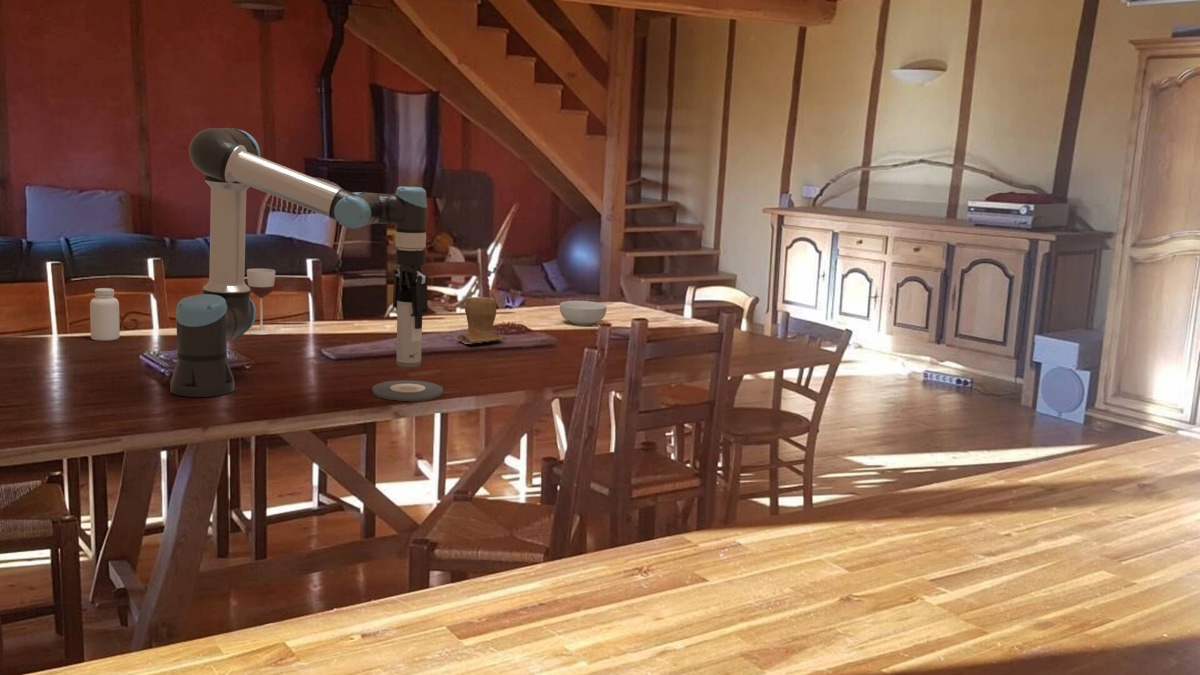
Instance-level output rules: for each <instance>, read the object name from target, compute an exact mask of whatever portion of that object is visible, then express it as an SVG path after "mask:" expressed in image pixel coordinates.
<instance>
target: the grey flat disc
mask: <svg viewBox="0 0 1200 675" xmlns="http://www.w3.org/2000/svg"><path fill="white" fill-rule="evenodd" d="M371 392H372V395H373V396H374V397H376V398H378V399H381V398H383V399H382V400H385V399H388V400H387V401H391V400H397V401H396V402H403V401H408V402H412V403H413V402H415V403H416V402H426V401H427V402H428V401H432V400H435V399H439V398H441V397H442V396H443V395H444V388H443V387H442V386H441V385H439V384H437V383H433V382H430V381H422V380H408V379H406V380H403V379H402V380H389V381H382V382H380V383H376V384H374V385H373V386H372V389H371Z"/></svg>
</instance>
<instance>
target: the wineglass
mask: <svg viewBox="0 0 1200 675" xmlns="http://www.w3.org/2000/svg"><path fill="white" fill-rule="evenodd" d="M246 276H247V279H246V280H247V284H248V285H247V286H248V287H249V288H250V293H252V294H253V295H255V296H256V297H258V298H259V310H260V311H259V325H260V326H259V327H260V328H259V329H256V330H250V331H248V333H249V334H252V335H270V334H273V333H274V331H273V330H270V329H264V327H263V325H264V324H263V323H264V322H263V321H264V317H263V314H264V312H263V310H264V309H263V298H265V297H267V296H268V295H270V294H271V293H272V292H273V290H274V288H275V287H274V286H275V281H276V270H275V269H272V268H248V269H246Z"/></svg>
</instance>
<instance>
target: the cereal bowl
mask: <svg viewBox="0 0 1200 675" xmlns="http://www.w3.org/2000/svg"><path fill="white" fill-rule="evenodd" d="M559 312H560V315H561V317H562V318H563V319H565V320H566V321H569V322H570V323H571V324H573V325H576V326H592V325H593V324H594V323H599V322H601V321H602V320H603V319H604V318H605V316H606V313H607V305H606V304H604V303H602V302H596V301H589V300H588V301H587V300H567V301H561V302H560V303H559Z"/></svg>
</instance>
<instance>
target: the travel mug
mask: <svg viewBox="0 0 1200 675" xmlns="http://www.w3.org/2000/svg"><path fill="white" fill-rule="evenodd" d="M411 299H412V291H410V290H404V292H402V291H398V300H397V302H398V303H397V310H396V362H395V363H396V365H397V366H399V367H401V368H402V367H404V368H415V367H419V366H421V365H422V341H423V340H422V341H414V342H412V341H411V314H413V309H412V300H411Z"/></svg>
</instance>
